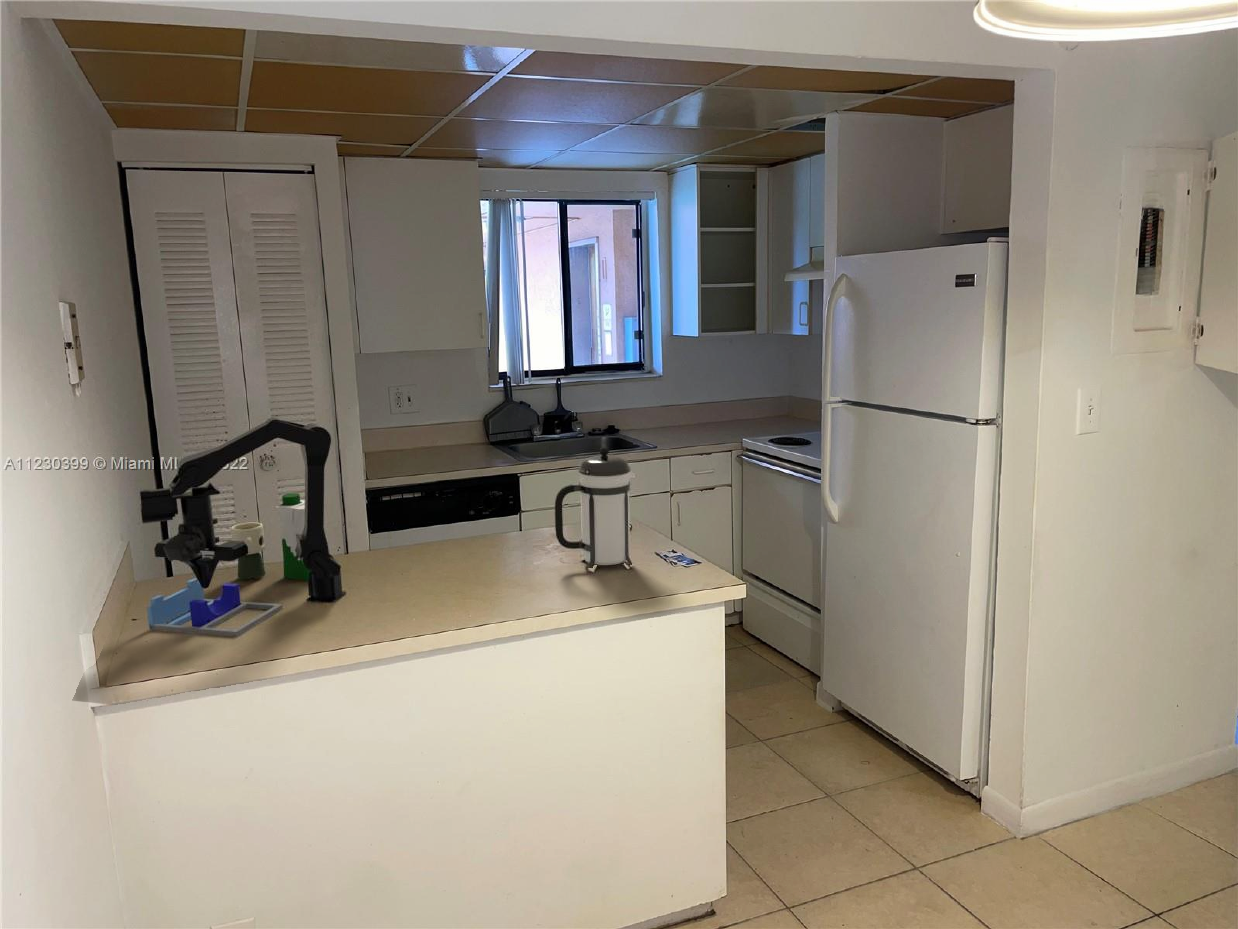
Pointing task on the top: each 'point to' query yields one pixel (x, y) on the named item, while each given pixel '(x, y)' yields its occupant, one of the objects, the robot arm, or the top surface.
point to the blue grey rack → (179, 605)
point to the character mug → (250, 549)
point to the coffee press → (600, 510)
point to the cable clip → (215, 605)
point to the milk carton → (292, 535)
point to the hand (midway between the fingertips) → (205, 587)
